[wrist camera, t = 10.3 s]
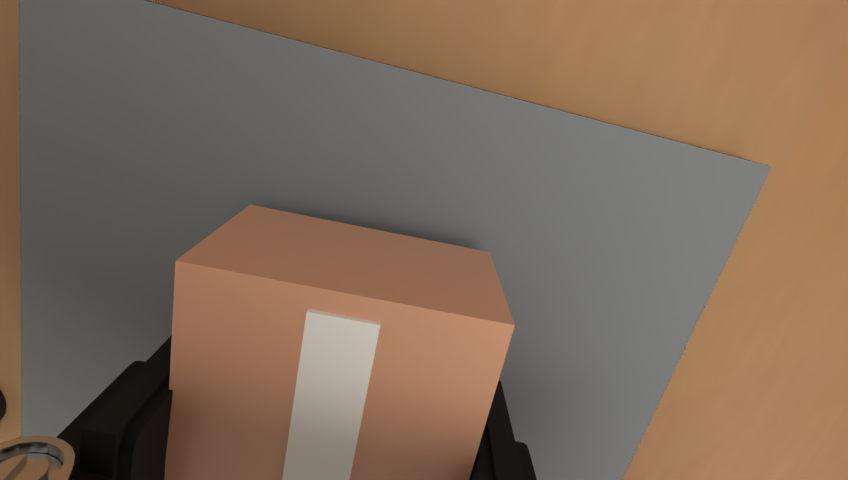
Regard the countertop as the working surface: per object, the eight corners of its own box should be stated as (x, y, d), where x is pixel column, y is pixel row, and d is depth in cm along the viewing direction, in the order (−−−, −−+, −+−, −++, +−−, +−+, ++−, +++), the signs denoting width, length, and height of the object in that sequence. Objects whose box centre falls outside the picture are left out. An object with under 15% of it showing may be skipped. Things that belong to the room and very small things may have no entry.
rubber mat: (44, 465, 17) (22, 488, 16) (51, -25, 12) (18, -34, 11) (561, 566, 18) (568, 593, 17) (746, 160, 13) (771, 166, 12)
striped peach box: (250, 204, 11) (172, 262, 8) (489, 251, 12) (516, 328, 8) (222, 482, 14) (154, 619, 10) (420, 515, 14) (417, 657, 11)
